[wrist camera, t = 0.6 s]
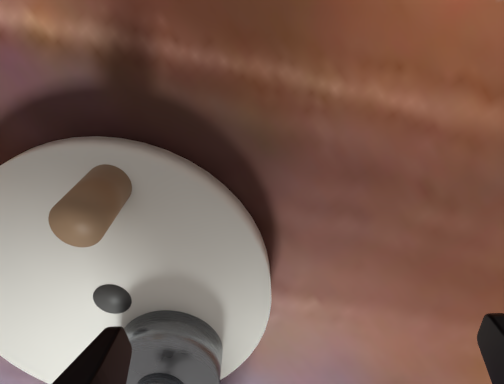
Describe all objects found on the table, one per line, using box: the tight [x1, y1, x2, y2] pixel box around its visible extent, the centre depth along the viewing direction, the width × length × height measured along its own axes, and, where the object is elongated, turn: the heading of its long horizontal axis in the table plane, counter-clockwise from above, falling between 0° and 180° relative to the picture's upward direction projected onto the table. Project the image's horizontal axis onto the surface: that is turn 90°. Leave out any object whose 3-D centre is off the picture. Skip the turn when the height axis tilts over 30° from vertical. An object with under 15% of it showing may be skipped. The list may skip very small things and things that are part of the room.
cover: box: [124, 310, 223, 384], centre depth 23 cm, size 7×7×4 cm
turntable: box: [0, 136, 271, 384], centre depth 22 cm, size 20×20×6 cm
